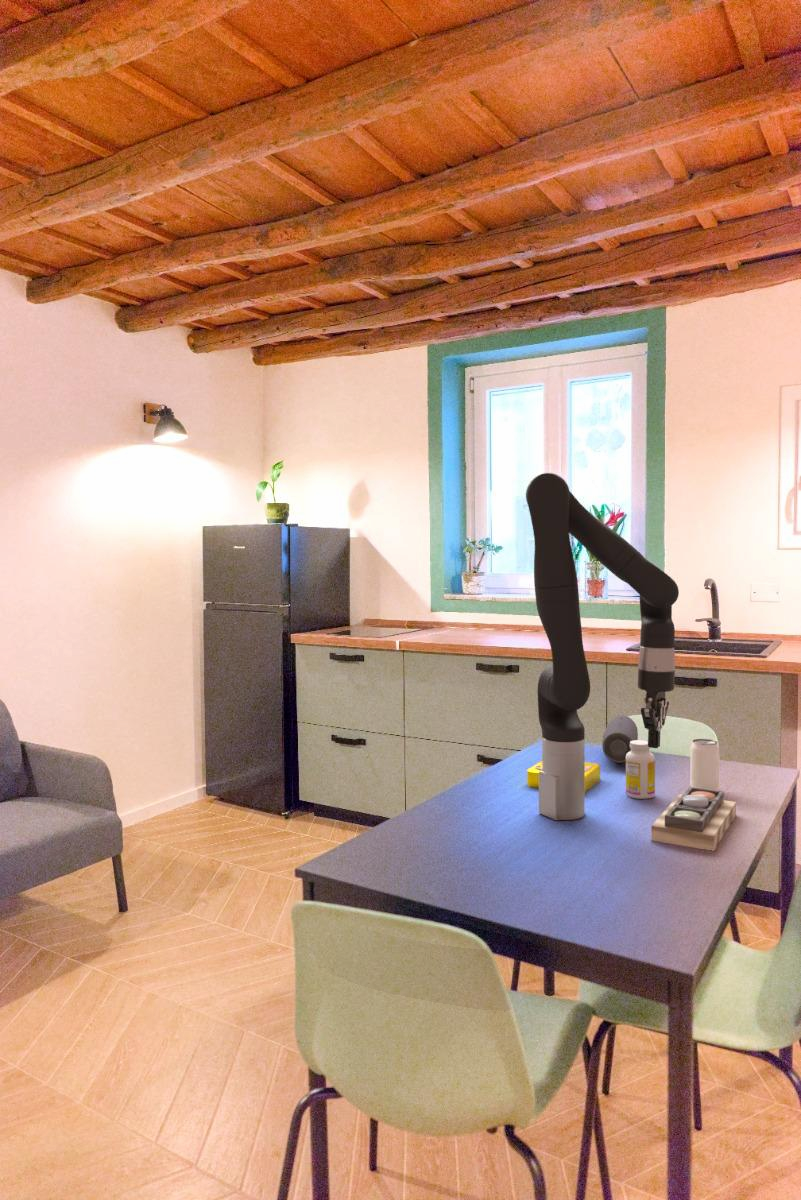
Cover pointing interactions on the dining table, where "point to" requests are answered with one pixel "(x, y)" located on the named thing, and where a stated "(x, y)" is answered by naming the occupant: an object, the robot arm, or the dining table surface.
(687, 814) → the button sage
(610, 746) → the bluetooth speaker
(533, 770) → the element tile
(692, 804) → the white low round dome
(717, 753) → the can
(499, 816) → the dining table surface
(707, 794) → the button terracotta
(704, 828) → the button panel
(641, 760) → the supplement bottle
